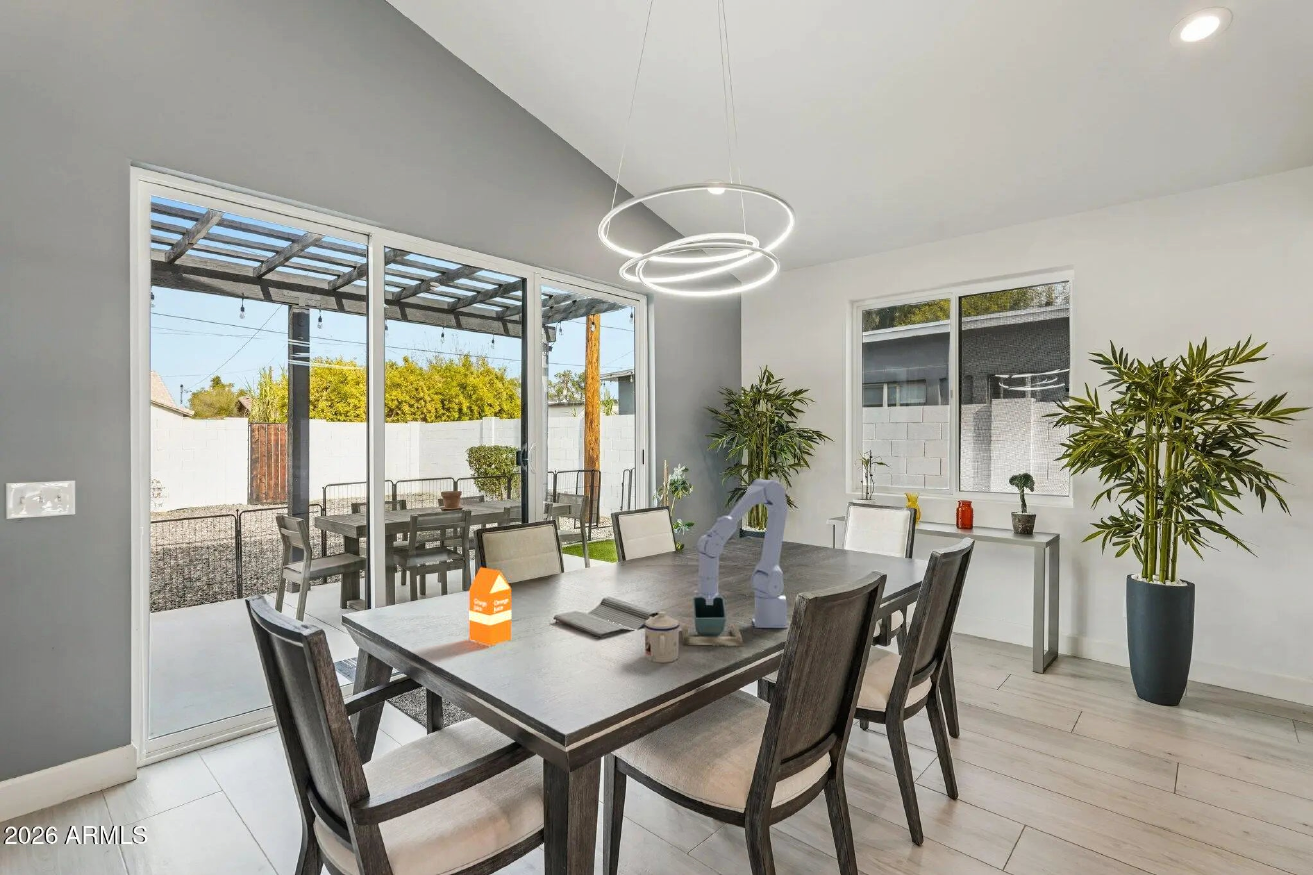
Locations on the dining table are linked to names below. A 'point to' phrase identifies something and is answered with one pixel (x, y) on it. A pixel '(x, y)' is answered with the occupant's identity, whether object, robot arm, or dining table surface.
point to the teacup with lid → (661, 638)
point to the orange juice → (489, 608)
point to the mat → (608, 617)
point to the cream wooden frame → (713, 638)
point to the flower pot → (709, 617)
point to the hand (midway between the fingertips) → (707, 623)
